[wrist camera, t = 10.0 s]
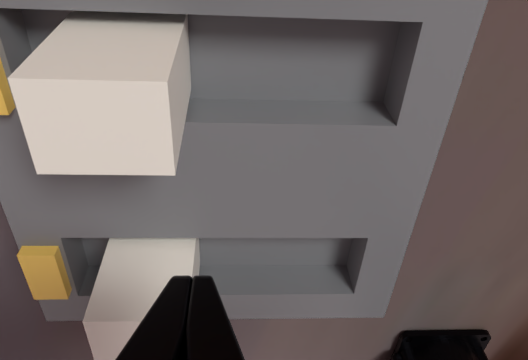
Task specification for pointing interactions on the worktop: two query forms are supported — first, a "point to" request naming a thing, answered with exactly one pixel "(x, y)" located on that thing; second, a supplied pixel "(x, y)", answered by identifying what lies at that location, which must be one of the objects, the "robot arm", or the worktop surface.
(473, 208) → the worktop surface
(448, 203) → the worktop surface
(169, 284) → the robot arm
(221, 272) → the switch bank
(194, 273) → the tab
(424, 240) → the worktop surface
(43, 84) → the tab
